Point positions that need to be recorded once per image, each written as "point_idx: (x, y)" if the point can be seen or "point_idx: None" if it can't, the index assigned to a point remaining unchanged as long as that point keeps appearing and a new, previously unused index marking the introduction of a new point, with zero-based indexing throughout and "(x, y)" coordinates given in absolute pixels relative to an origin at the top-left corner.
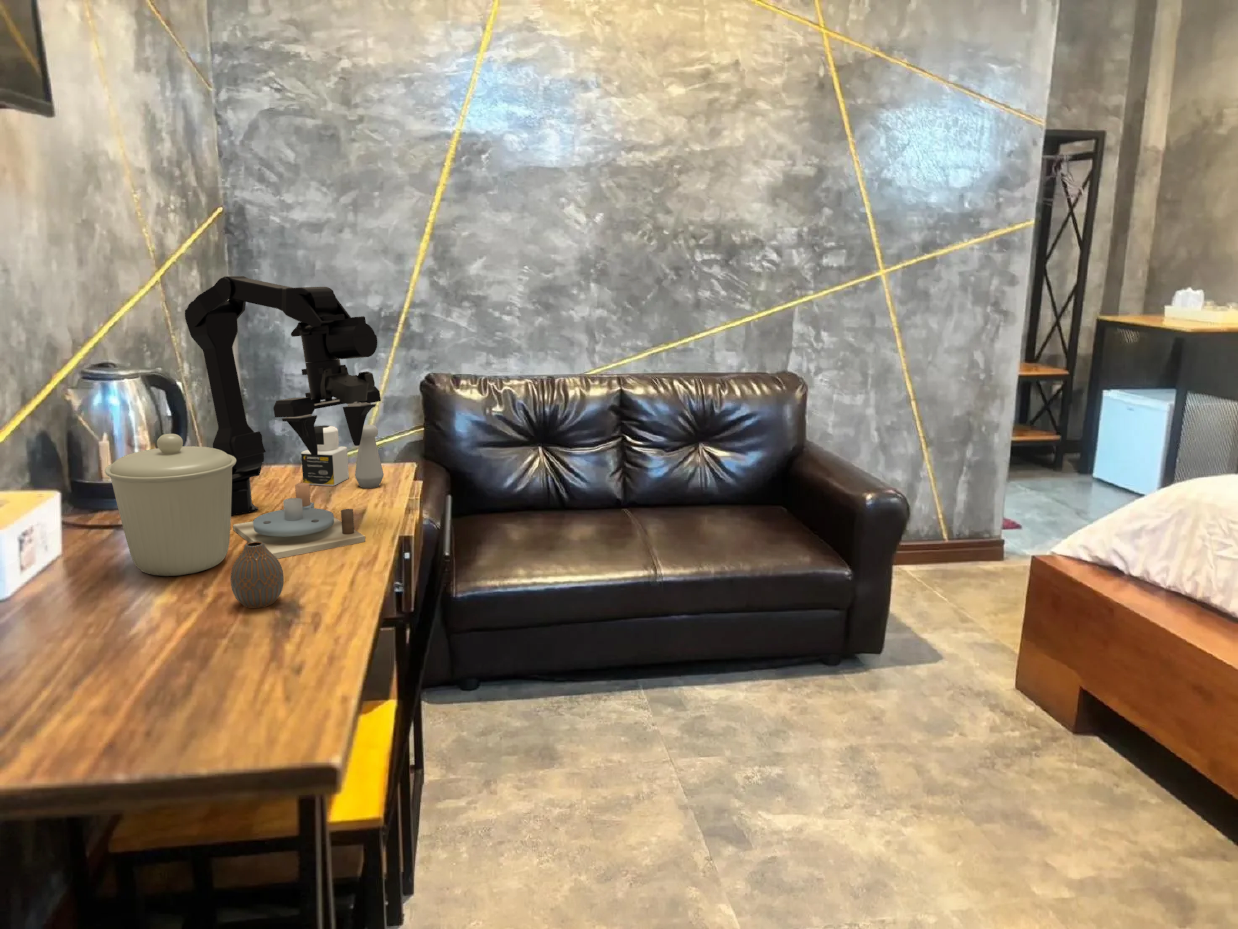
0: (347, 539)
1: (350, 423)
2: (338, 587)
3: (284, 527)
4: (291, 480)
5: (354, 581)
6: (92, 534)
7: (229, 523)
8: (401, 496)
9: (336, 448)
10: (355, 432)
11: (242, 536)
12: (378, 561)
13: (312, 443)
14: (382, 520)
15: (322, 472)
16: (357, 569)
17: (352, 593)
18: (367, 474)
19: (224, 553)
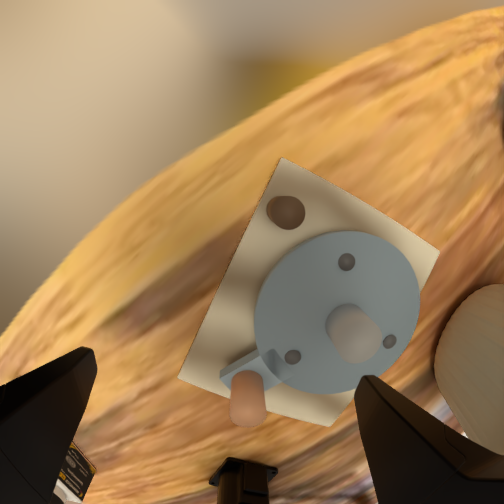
0: (319, 177)
1: (48, 462)
2: (455, 73)
3: (405, 285)
4: (98, 484)
5: (433, 62)
6: None
7: (497, 311)
8: (22, 316)
9: None
10: (61, 402)
11: None
12: (357, 67)
13: (418, 406)
14: (135, 238)
15: (71, 462)
16: (402, 80)
17: (454, 48)
18: None
19: (477, 293)
